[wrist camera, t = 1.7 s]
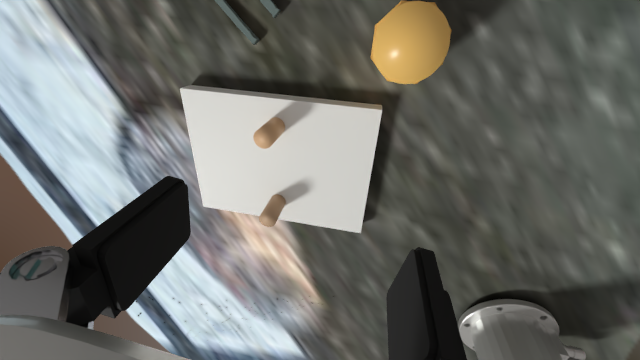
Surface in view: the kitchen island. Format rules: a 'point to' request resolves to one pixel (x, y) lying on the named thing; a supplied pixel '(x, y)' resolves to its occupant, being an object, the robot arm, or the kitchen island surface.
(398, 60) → the acorn cap nut
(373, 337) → the kitchen island surface
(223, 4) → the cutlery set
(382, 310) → the kitchen island surface
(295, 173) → the plate
